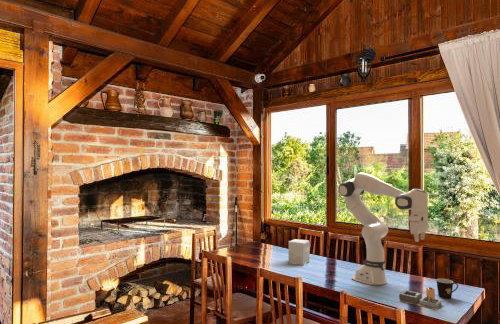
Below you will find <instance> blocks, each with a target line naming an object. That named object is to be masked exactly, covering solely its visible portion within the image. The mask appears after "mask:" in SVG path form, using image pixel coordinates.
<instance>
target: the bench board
mask: <svg viewBox="0 0 500 324" xmlns="http://www.w3.org/2000/svg"><path fill="white" fill-rule="evenodd" d="M397 301H398V302H402V303H406V304H410V305H411V304H412V305H414V306H418V307H424V308H427V309H432V310H435V311H437V310H438V309H439V308H437V309H434V308H430V307H426V306H422V305H420V302H418V303H417V304H413V303H409V302H405V301H401V300H399V299H398V300H397ZM441 306H443V303H441Z"/></svg>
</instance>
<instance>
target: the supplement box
mask: <svg viewBox="0 0 500 324" xmlns="http://www.w3.org/2000/svg"><path fill="white" fill-rule="evenodd" d="M307 262H309V263H310V240H307V239H298V238H297V239H296V238H294V239H292V240H288V264H290V263H296V264H295V265H297V264H303V265H302V266H305V265H306V264H305V263H307ZM304 264H305V265H304ZM307 264H308V263H307Z"/></svg>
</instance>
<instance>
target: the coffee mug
mask: <svg viewBox="0 0 500 324" xmlns="http://www.w3.org/2000/svg"><path fill="white" fill-rule="evenodd" d="M435 281H436V286H437V287H436V288H437V294H438V295H437V296H438V297H439V298H441V299H446V300H451V299H452V298H453V297H452V296H453V295H452V294H453V293H454V292H456V291H457V289H458V288H459V285H458V283H456V282H454V281H453V280H451V279H448V278H437V279H435ZM455 284H456V287H455V289H453V287H454V285H455Z"/></svg>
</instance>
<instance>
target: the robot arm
mask: <svg viewBox="0 0 500 324" xmlns="http://www.w3.org/2000/svg"><path fill="white" fill-rule="evenodd" d="M338 192H339V193H340V195H341V196H342V197H344V203H345V204H346V205H345V206H346V207H347V208H348V210H349V212H350V213H351V215H352V216H353V217H354V219H355V220H356V221H357V222H358V223H359V224H361V225H363V227H362V230H361V235H362V237H363V239H364V242H365V245H366V246H365V248H366V259H364V260H363V265H361V266H359V267H358V268H357V269H356V270H355V274H354V275H352V276H351V280H352V279H353V281H357V282H359V283H363V284H366V285H370V286H373V285H374V286H375V285H379V286H380V285H381V286H382V285H386V284H387V283H388V282H387V278H386V277H387V276H386V271H385V270H386V260H385V248H384V246H383V244H382V239H383V238H385V237H386V236H387V235H388V233H389V227H388V226H387V224H386V223H385V222H383V221H381V220H380V218H379V217H377V216H376V215H375V214H374V213H373V212H372V211H371V210H370V208H369V207H368V206H367V205H366V203H365V202H364V201H363V200H362V198H361V195H363V194H364V192H366V193H369V194H371V195H374V196H387V197H391V198H394V199H395V200H394V205H395V206H396V208H397V209H399V210H400V211H401V210H402V211H408V210H410V215H409V217H408V221H409V231H410V235H413V237H414V241H415V242H417V243H418V242H419V241H420V240H422V241H423V240H425V235H426V232H429V231H428V230H429V221H428V220H429V211H428V204H429V203H428V202H429V200H428V193H427V191H426V190H424V189H421V188H412V189H411V190H409V191H404V190H401V189H400V188H398V187H395V186H393V185H391V184H389V183H387V182H385V181H383V180H381V179H379V178H378V177H376V176H373V175H372V174H369V173H365V172H358V173H356V175H355V176H354V177H353V178H349V179H348V180H344V181H342V183H340V184H339V186H338ZM419 235H420V236H419Z"/></svg>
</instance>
